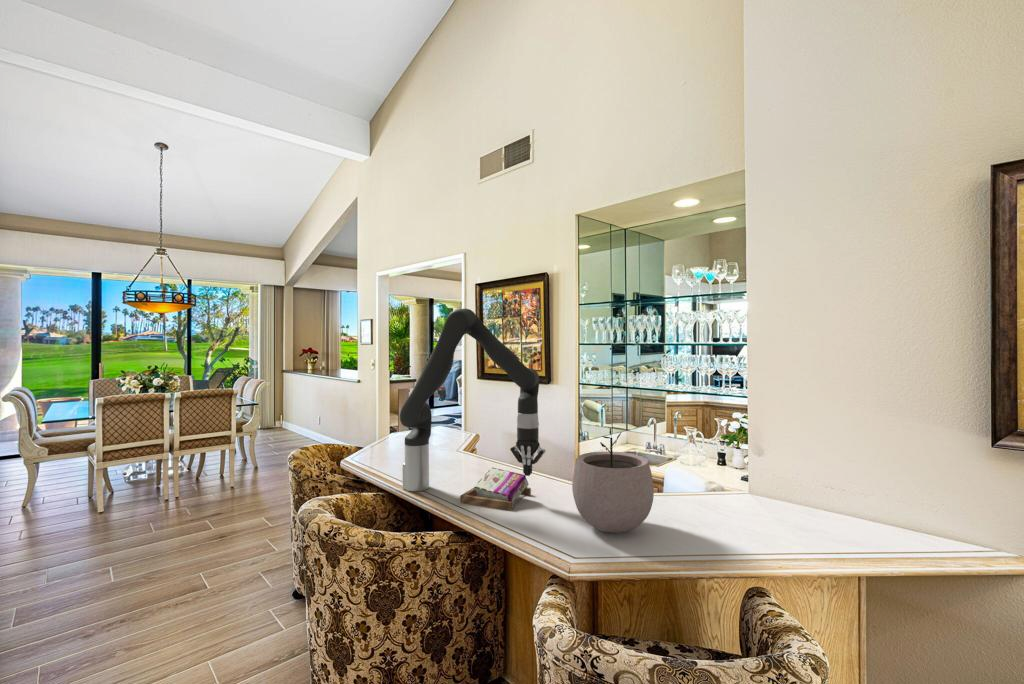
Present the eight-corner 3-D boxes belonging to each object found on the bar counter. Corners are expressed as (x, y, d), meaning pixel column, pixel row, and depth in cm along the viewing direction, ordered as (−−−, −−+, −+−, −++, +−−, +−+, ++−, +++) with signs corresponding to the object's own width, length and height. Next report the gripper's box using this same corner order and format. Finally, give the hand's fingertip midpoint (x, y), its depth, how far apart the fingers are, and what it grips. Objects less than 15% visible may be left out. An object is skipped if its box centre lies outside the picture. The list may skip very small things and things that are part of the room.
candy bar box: (529, 485, 168) (496, 476, 179) (525, 474, 166) (491, 466, 177) (511, 507, 161) (477, 496, 171) (506, 496, 159) (472, 486, 170)
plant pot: (558, 520, 148) (558, 424, 148) (623, 510, 157) (623, 420, 157) (598, 551, 126) (598, 438, 126) (672, 537, 134) (671, 432, 134)
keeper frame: (460, 502, 165) (460, 495, 165) (483, 488, 182) (483, 481, 182) (510, 510, 157) (510, 502, 157) (530, 494, 174) (530, 487, 174)
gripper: (506, 426, 164) (506, 475, 164) (541, 428, 158) (541, 480, 158) (514, 422, 171) (514, 470, 171) (549, 425, 165) (549, 474, 165)
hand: (527, 475), depth 164 cm, fingers closed
